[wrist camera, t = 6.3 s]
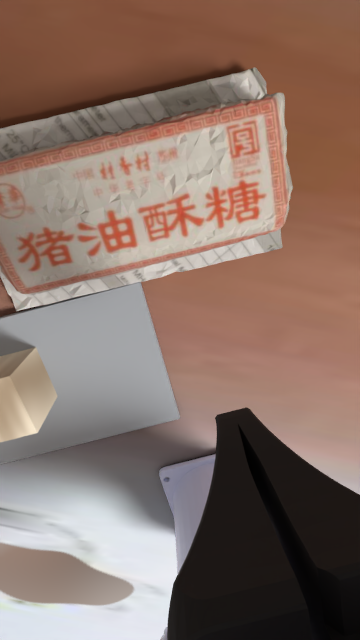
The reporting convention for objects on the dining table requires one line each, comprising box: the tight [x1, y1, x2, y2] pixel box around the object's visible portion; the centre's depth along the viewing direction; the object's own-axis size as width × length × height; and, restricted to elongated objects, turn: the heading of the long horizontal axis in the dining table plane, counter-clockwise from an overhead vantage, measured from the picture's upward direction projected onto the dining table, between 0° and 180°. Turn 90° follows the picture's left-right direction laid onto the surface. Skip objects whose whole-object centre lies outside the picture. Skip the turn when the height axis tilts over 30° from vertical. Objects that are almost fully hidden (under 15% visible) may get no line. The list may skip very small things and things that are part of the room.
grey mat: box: [0, 282, 180, 465], centre depth 22 cm, size 11×22×1 cm, turn 104°
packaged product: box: [0, 67, 293, 311], centre depth 17 cm, size 18×5×10 cm
